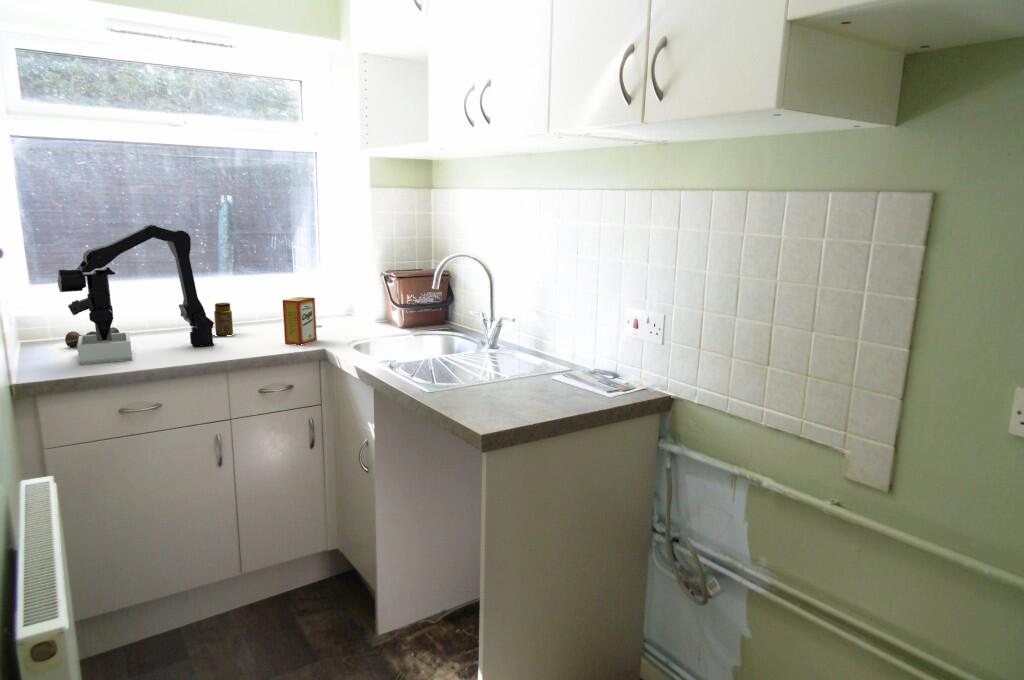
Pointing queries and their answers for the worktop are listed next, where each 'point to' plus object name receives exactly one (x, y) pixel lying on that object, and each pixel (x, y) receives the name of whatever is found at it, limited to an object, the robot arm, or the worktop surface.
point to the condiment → (223, 319)
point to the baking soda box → (299, 320)
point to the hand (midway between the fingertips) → (104, 338)
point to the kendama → (73, 336)
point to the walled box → (104, 349)
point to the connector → (99, 338)
